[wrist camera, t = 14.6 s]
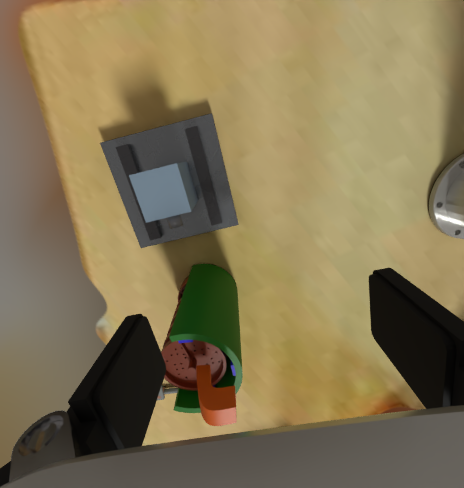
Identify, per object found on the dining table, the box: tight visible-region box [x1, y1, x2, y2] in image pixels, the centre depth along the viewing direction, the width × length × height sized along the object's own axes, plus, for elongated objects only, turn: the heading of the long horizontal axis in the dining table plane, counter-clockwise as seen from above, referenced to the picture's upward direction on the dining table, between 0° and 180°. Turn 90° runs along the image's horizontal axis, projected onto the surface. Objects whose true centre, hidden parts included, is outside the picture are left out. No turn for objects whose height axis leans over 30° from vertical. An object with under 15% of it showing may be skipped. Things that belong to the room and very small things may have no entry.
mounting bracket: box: [100, 113, 238, 248], centre depth 32 cm, size 14×14×2 cm
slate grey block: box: [129, 162, 198, 229], centre depth 29 cm, size 5×7×7 cm
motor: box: [161, 264, 242, 426], centre depth 30 cm, size 10×9×20 cm
